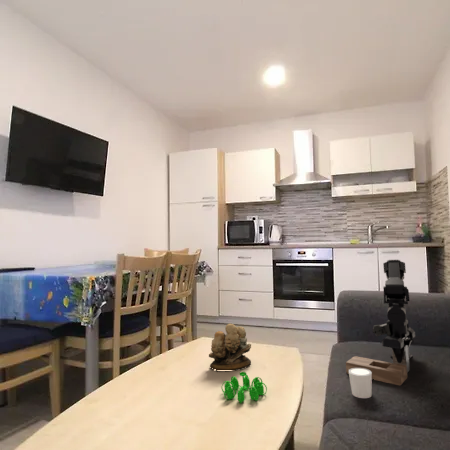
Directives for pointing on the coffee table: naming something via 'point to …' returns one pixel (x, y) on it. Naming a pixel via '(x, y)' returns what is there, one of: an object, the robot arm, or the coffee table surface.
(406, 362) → the bracket
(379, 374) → the post board
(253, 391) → the chandelier
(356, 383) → the white cylinder
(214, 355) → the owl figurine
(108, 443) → the coffee table surface
